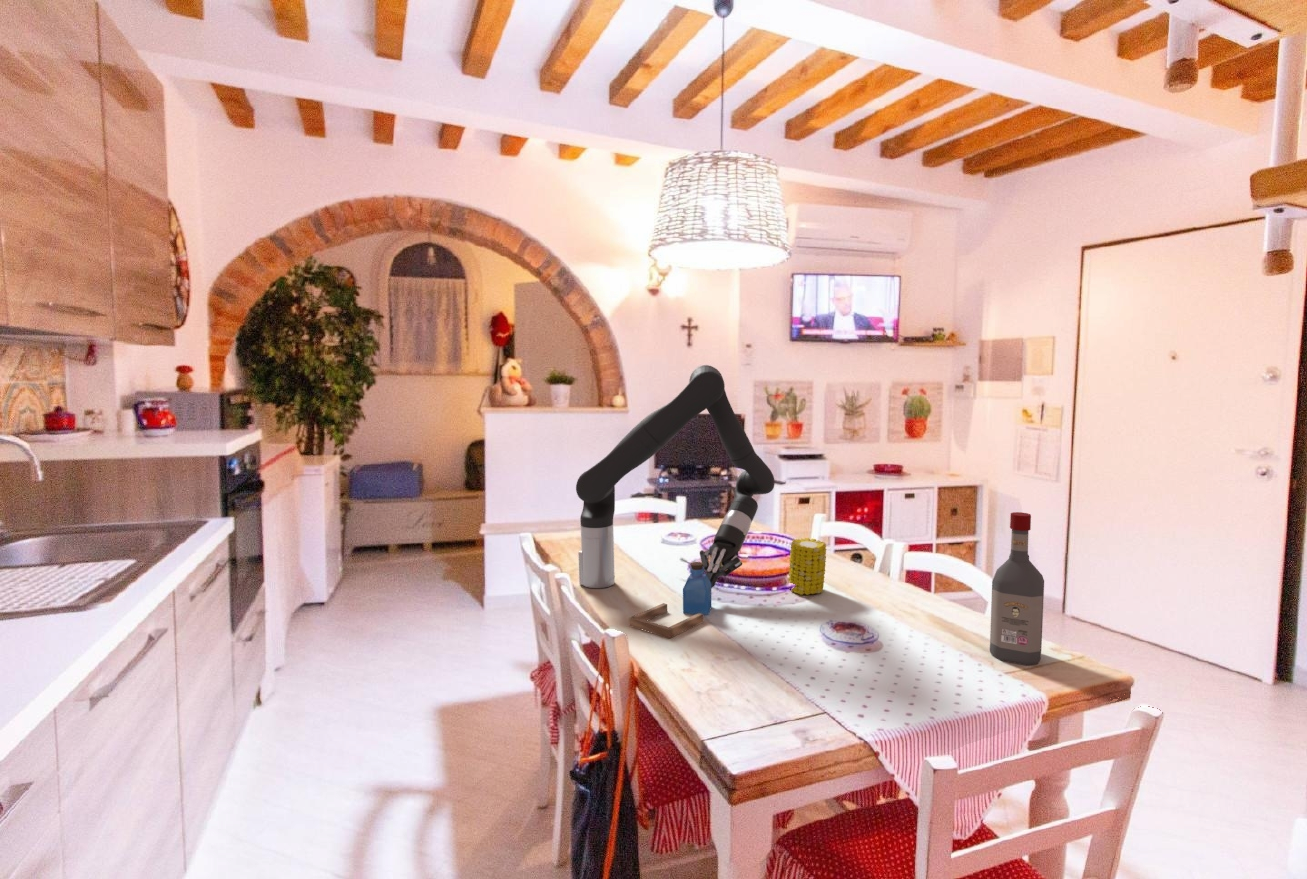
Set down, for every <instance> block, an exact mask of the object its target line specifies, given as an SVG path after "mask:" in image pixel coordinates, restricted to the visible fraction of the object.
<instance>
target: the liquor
mask: <svg viewBox="0 0 1307 879" xmlns="http://www.w3.org/2000/svg"><path fill="white" fill-rule="evenodd" d="M1009 520H1010V522H1009V528H1010V529H1011V535H1010V536H1011V539H1010V543H1011V544H1010V553H1009V557H1008V559H1006V560H1005V562H1004V563H1003V564H1002V565H1000V566H999V567H998V568H997V569H996V571H995V573H994V576H993V578H992V580H991V603H990V604H991V606H990V608H991V609H990V634H989V635H990V637H989V638H990V639H989V652H990V654H991V656H992V657H994V658H996V659H998V660H999V661H1002V662H1005V663H1006V662H1007V663H1013V664H1017V665H1021V666H1032V665H1038V664H1039V662H1040V661H1041V656H1042V655H1041V654H1042V648H1043V647H1042V645H1043V644H1042V641H1043V623H1044V622H1043V618H1044V594H1045V579H1044V577H1043V576H1044V575H1042V573H1041V572H1040V571H1039V570H1038V569H1037V568H1036V566H1035V565H1034V564H1033V563H1032V562H1031V561H1030V556H1029V531H1031V529H1032V528H1031V526H1032V525H1031V524H1032V522H1031V520H1032V515H1031V514H1030V513H1027V512H1021V511H1017V512H1016V511H1015V512H1011V513H1010V518H1009Z"/></svg>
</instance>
